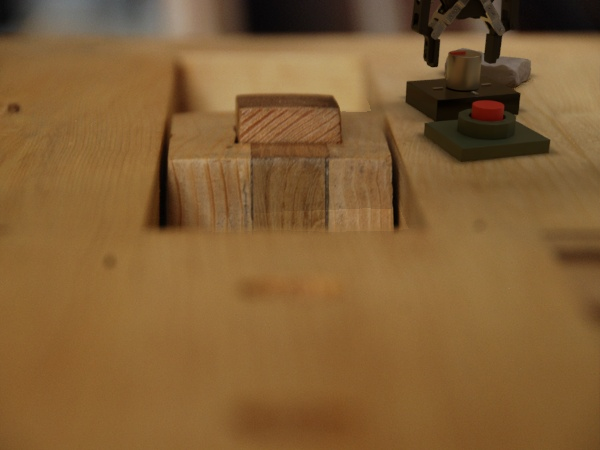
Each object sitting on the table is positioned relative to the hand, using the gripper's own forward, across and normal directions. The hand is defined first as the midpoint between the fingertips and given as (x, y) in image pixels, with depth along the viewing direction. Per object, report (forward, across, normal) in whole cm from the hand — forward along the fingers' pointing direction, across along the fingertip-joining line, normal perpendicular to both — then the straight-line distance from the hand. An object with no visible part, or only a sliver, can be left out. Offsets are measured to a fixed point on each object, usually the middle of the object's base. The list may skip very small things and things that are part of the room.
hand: (461, 64), depth 109 cm
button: (+3, -5, -16) cm, 17 cm away
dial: (+3, 0, 0) cm, 3 cm away
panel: (+6, 0, 0) cm, 6 cm away
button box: (+6, -5, -16) cm, 18 cm away
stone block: (+6, +13, +14) cm, 20 cm away
